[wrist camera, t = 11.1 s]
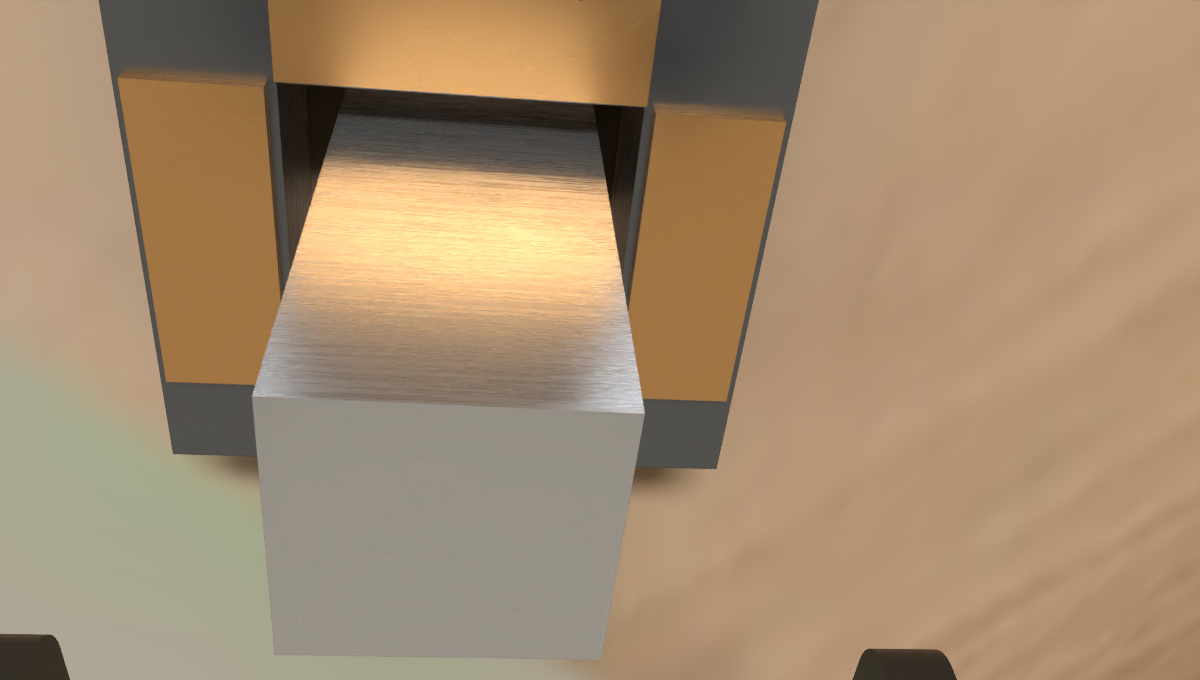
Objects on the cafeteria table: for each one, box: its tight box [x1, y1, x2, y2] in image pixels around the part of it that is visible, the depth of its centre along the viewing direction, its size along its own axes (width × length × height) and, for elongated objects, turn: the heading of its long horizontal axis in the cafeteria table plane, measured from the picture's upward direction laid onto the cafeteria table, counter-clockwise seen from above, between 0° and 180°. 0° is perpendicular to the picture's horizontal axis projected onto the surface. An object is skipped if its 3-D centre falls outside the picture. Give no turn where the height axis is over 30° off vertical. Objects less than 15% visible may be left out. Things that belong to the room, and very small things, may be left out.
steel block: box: [252, 88, 645, 660], centre depth 16 cm, size 4×4×9 cm
